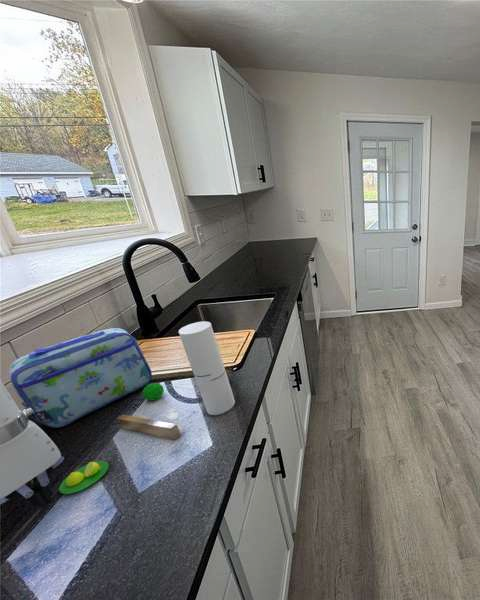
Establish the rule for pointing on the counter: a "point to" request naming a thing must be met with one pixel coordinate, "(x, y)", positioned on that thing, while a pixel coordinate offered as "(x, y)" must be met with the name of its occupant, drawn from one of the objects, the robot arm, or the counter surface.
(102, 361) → the lunch box
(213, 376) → the cylindrical container
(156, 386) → the polyhedron
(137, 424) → the rail
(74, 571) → the counter surface
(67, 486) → the plate of yellow fruit
